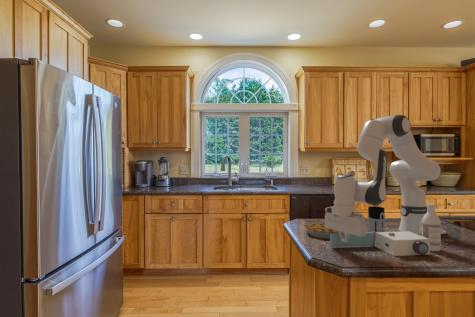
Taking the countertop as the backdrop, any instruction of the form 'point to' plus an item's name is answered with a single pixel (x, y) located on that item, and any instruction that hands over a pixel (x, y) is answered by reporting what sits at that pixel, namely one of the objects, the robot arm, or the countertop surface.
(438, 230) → the bath foam
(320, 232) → the pie
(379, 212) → the grey mug
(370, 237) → the side door
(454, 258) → the countertop surface
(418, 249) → the knobbed cream box
